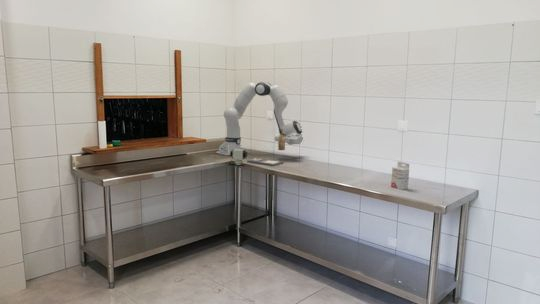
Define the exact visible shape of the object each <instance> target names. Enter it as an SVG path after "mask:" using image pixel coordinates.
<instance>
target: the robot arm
mask: <svg viewBox="0 0 540 304" xmlns="http://www.w3.org/2000/svg"><path fill="white" fill-rule="evenodd" d="M256 95H257V96H259V97H265V96H269V97H270V98H271V100H272V102H273V105H274V106H273V107H274V108H273V114H274V117H275V120H276V121H275V122H276V125H277V127H278V132H279V135H281V129H283V135H285V140H284V142H285V144H288V145H289V146H290V145H301V142H302V140H303V137H302V134H301V133H302V132H303V129H301V128H302V126H300V125H301V124H300V123H299V122H298V121H295V120H293V121H291V122H289V123H287V124H285V122H284V119H283V116H282V114H283V112H284V110H285V109H286V108H287V106H288V104H289V100H288V98H287V96H286V93H285V92H284V90H283V88H282V87H281V86H280V85H278V84H274V85H272V84H270V83H269V82H267V81H261V82H258V83H254V82H250V81H249V82H248V83H246V85H245V86H244V87H243V88H242V89H241V91H240V92H239V93H238V95H237V96H236V98H235V101H234V103H233V105H232V106H231V107H228V108H226V109H225V110H224V112H223V117H224V119H225V124H226V125H225V126H226V137H224V141H223V143H222V144H221V145H219V148H218V150H217V151H216V152H215V153H216V154H220V155H224V156H230V152H231V151H232V150H233V149H238V148H239V149H240V150H242V145H241V141H242V137H241V126H240V123H239V120H240V119H241V118H242V117H244V114H245V112H246V109H247V107H248V106H249V104H250V103H251V102H252V100H253V99H254V98H255V96H256ZM279 135H278V136H274V141H275V142H278V140H279ZM302 143H303V142H302Z"/></svg>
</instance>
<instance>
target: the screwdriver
mask: <svg viewBox="0 0 540 304" xmlns="http://www.w3.org/2000/svg"><path fill="white" fill-rule="evenodd" d="M278 136H279V140H278V141H277V142H278V146H277V147H278V148H277V149H278V151H285V150H286V142H284V140H285V135H283V129H281V135H280V134H279V135H278Z"/></svg>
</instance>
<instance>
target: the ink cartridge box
mask: <svg viewBox="0 0 540 304" xmlns="http://www.w3.org/2000/svg"><path fill="white" fill-rule="evenodd" d="M409 178H410V164H409V163H406V162H402V161H397V166H392V168H391V184H390V187H391V188H394V189H399V190H400V191H401V190H408V188H409Z"/></svg>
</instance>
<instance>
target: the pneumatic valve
mask: <svg viewBox="0 0 540 304" xmlns="http://www.w3.org/2000/svg"><path fill="white" fill-rule="evenodd" d="M229 157H231V159H235V161H234V165H235V166H241V165H243V160H246V158H248V152H247V150H246V149H241V150H240V149H239V148H238V149H233V150H232V151H231V152H230V155H229Z"/></svg>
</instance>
